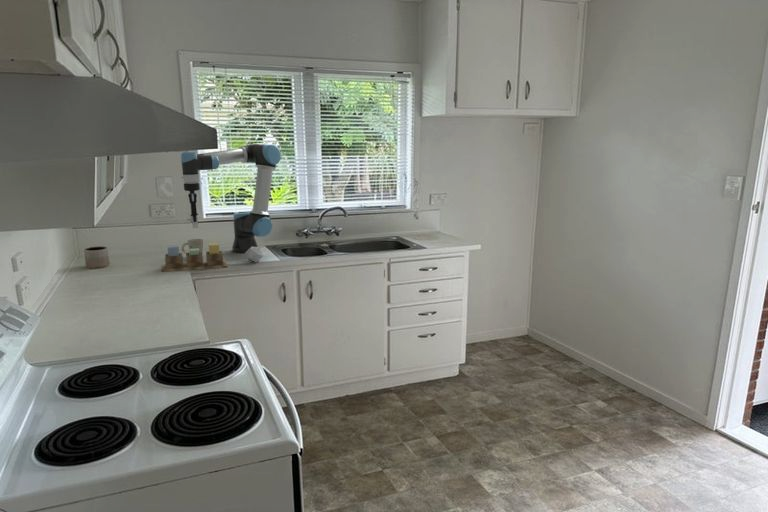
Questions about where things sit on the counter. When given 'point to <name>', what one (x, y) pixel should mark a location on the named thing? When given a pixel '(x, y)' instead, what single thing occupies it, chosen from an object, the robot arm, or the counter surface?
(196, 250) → the button sage
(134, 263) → the counter surface
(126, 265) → the counter surface
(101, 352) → the counter surface
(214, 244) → the button ochre
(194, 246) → the mug
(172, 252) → the button slate
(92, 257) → the planter
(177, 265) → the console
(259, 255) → the die
